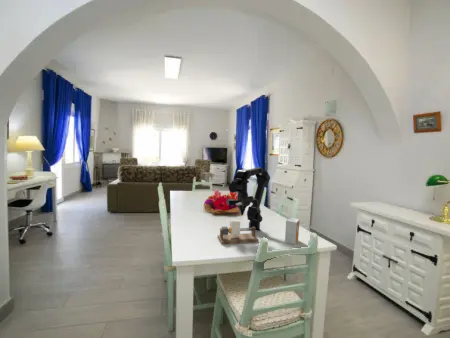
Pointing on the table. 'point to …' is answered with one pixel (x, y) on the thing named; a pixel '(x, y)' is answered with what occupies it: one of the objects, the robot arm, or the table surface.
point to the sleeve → (235, 227)
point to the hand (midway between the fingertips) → (241, 215)
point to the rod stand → (237, 236)
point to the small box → (292, 231)
